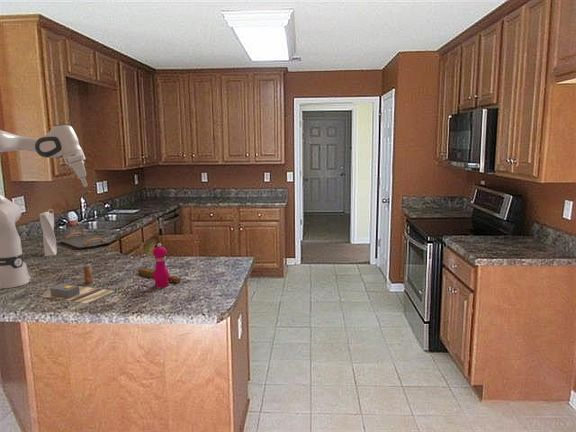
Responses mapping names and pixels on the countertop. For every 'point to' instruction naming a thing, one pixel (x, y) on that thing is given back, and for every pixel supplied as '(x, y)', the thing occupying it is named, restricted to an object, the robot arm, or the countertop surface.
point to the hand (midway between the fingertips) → (86, 186)
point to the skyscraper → (48, 233)
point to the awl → (88, 273)
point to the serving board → (84, 240)
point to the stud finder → (65, 291)
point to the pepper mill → (160, 267)
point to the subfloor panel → (83, 295)
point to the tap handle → (150, 273)
